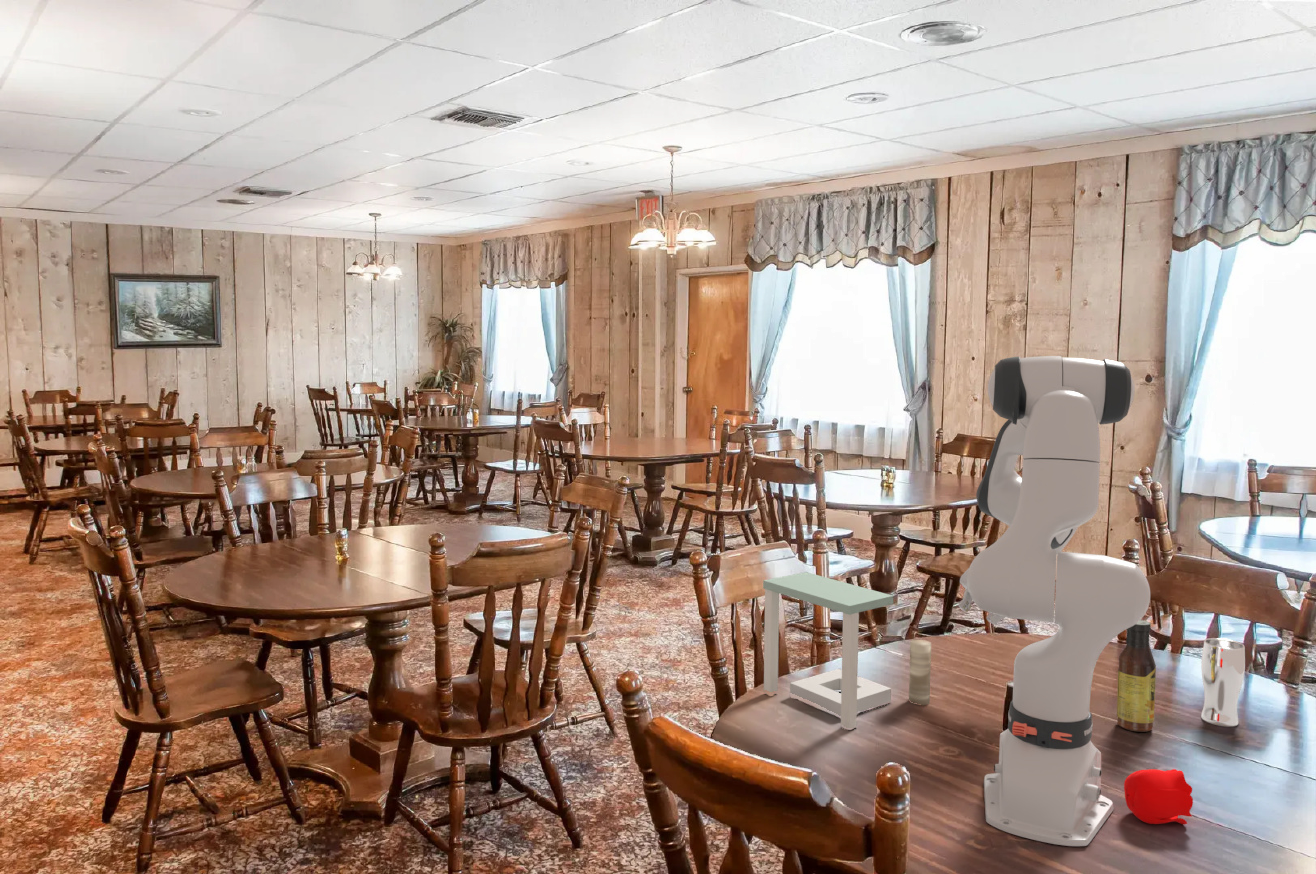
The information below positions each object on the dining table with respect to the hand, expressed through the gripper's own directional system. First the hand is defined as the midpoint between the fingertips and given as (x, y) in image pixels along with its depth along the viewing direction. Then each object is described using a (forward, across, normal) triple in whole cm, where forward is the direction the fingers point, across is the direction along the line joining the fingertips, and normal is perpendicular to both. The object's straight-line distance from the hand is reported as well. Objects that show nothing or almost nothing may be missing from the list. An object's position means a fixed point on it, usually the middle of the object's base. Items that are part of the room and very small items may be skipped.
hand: (975, 615), depth 188 cm
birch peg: (+20, 0, +3) cm, 21 cm away
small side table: (+34, -3, -11) cm, 36 cm away
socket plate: (+31, -5, -8) cm, 32 cm away
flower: (+15, +51, +9) cm, 54 cm away
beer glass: (-14, +24, +38) cm, 47 cm away
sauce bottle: (-2, +22, +26) cm, 34 cm away
